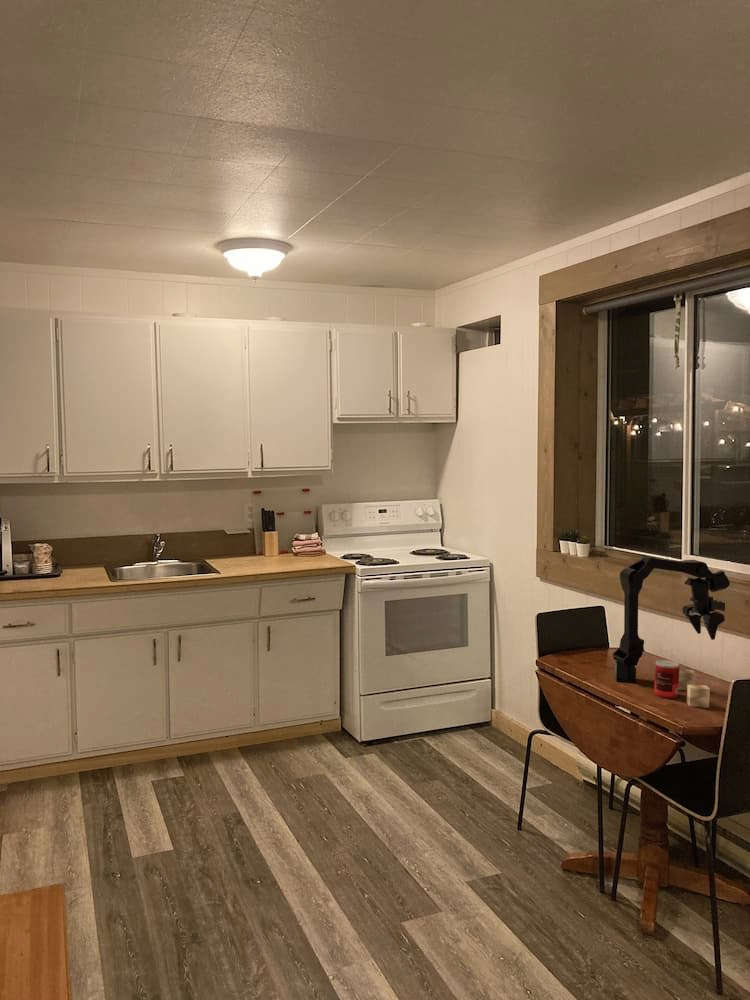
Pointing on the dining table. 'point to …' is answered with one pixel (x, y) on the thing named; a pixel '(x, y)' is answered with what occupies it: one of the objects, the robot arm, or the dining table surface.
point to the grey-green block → (686, 678)
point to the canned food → (666, 679)
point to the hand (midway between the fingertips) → (706, 636)
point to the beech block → (698, 695)
